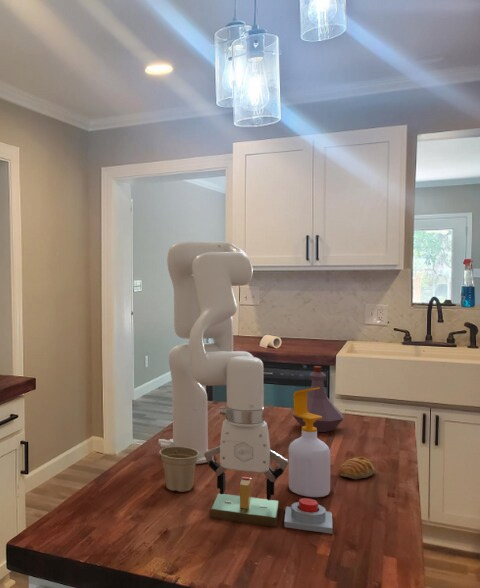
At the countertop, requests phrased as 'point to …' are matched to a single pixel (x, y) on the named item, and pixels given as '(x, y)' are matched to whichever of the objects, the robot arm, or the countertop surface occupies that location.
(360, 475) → the pastry
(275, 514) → the plate
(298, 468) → the soap bottle
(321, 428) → the flask
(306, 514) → the grey square piece
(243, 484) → the yellow bar
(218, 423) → the countertop surface
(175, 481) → the flower pot
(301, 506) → the button
